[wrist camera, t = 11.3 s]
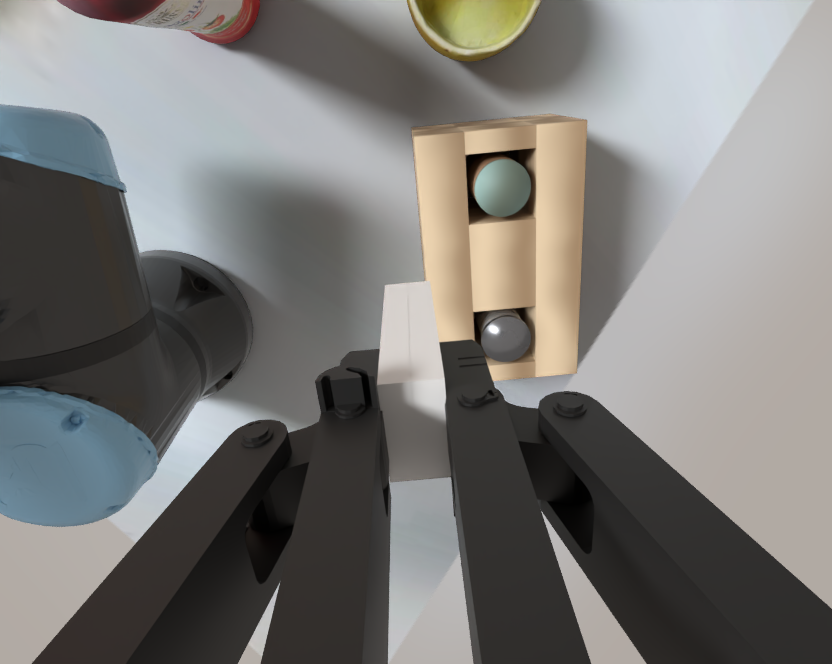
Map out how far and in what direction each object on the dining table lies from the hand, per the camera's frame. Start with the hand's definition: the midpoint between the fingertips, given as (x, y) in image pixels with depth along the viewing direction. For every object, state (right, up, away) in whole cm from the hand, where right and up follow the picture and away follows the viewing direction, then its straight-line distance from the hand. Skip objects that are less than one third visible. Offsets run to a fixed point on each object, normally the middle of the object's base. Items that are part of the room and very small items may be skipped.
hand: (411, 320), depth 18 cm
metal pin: (+7, +3, +34) cm, 35 cm away
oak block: (+7, +9, +32) cm, 34 cm away
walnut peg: (+6, +14, +29) cm, 33 cm away
